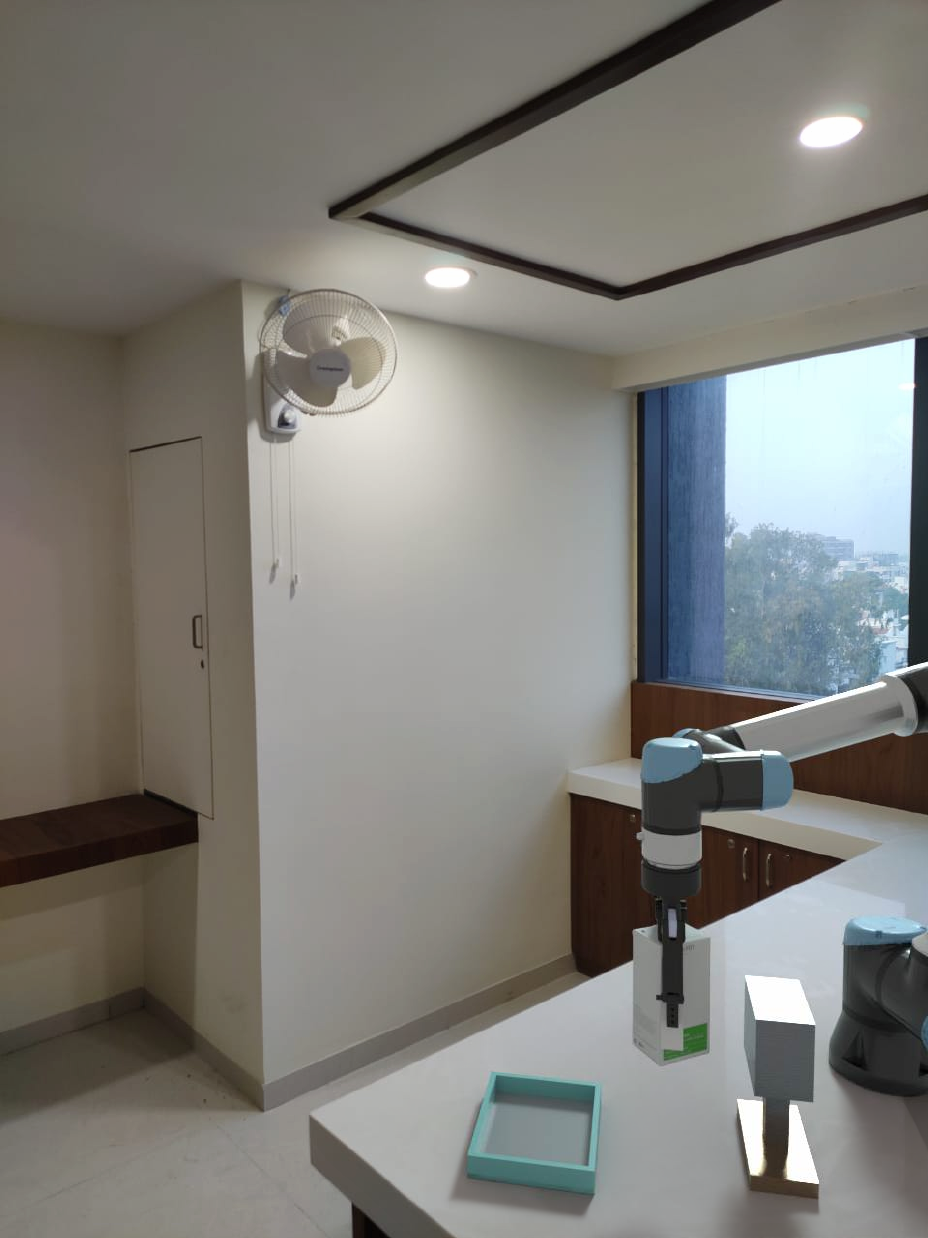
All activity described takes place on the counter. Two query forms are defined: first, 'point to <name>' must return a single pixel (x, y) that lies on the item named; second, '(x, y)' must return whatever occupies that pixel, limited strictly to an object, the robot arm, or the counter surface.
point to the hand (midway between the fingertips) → (670, 1027)
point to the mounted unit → (778, 1087)
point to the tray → (537, 1133)
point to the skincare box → (650, 985)
